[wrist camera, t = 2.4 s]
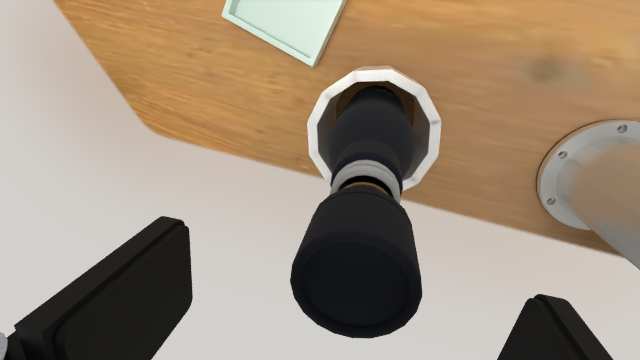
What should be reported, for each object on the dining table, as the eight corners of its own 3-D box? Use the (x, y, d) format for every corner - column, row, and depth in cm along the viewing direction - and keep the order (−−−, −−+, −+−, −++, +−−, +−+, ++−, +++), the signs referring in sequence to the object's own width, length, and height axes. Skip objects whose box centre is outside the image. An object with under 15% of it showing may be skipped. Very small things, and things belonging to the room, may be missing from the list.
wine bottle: (355, 146, 38) (291, 376, 11) (340, 95, 36) (214, 217, 9) (408, 131, 36) (491, 362, 9) (395, 77, 35) (447, 160, 7)
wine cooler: (441, 94, 34) (469, 113, 23) (389, 172, 39) (392, 218, 28) (357, 47, 34) (346, 43, 23) (314, 130, 38) (287, 160, 27)
